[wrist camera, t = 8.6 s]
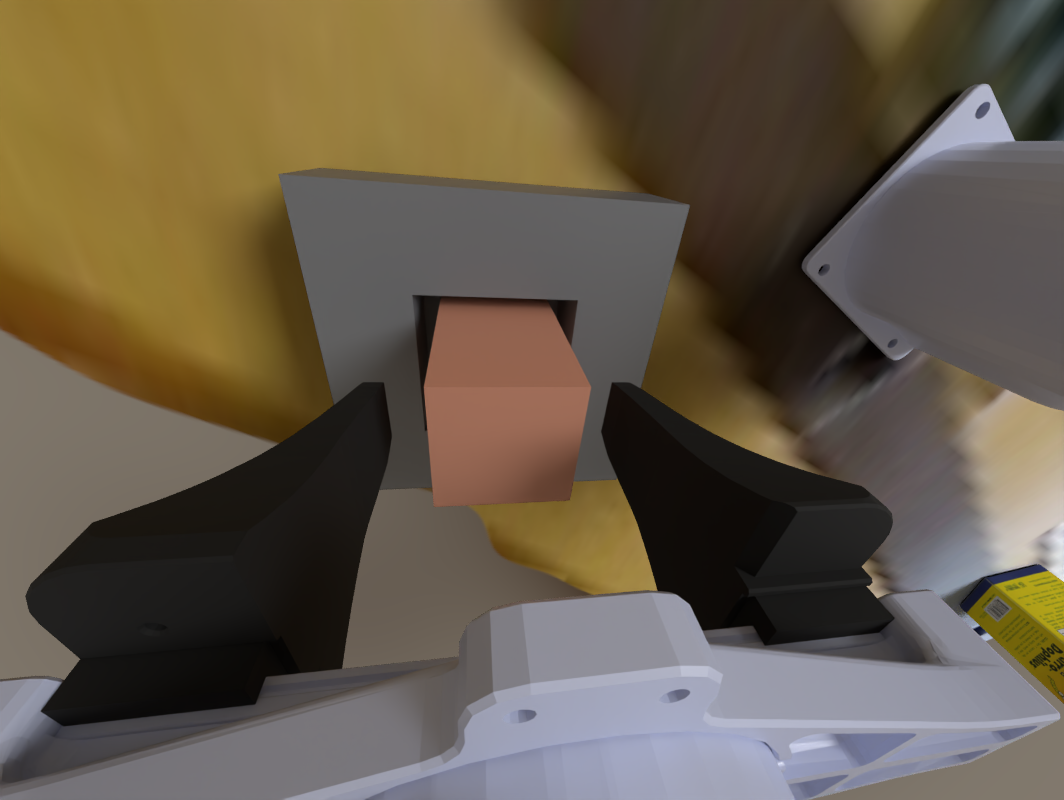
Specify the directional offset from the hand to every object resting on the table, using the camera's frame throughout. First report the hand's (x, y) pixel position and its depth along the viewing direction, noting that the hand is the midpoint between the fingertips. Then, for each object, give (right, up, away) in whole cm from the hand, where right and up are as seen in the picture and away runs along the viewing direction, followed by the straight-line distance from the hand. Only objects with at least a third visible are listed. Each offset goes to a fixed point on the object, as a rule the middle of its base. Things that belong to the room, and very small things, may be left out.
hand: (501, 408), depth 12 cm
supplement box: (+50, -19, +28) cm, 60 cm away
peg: (-1, +3, +4) cm, 6 cm away
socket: (-1, +3, +5) cm, 6 cm away
